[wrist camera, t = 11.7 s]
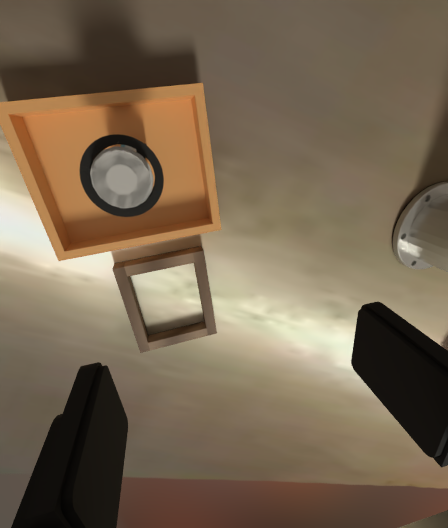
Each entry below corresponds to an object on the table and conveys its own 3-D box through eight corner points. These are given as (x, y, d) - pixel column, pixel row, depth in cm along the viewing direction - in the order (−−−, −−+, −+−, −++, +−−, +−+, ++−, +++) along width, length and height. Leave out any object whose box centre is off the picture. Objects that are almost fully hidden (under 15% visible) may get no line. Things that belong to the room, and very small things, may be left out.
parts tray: (197, 88, 25) (202, 82, 23) (215, 222, 31) (221, 229, 28) (9, 107, 23) (-9, 103, 20) (67, 249, 28) (58, 261, 26)
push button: (156, 211, 28) (158, 243, 20) (100, 204, 27) (76, 234, 18) (162, 143, 26) (168, 144, 17) (102, 130, 24) (74, 124, 16)
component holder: (201, 246, 32) (203, 250, 30) (214, 326, 37) (216, 333, 36) (114, 263, 30) (112, 269, 29) (141, 344, 35) (140, 352, 34)
